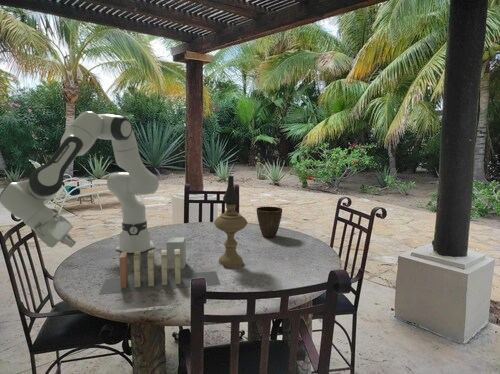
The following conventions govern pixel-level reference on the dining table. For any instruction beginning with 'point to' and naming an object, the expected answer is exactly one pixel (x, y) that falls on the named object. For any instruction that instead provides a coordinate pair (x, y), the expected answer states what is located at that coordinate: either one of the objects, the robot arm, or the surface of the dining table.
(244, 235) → the dining table surface
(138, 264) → the domino
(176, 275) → the domino
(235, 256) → the oil lamp
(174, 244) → the supplement box
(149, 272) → the domino
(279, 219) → the plant pot
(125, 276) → the domino
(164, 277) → the domino
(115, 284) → the mat
